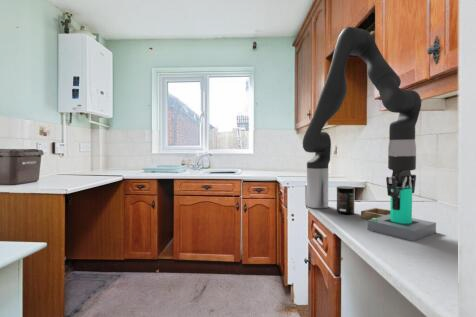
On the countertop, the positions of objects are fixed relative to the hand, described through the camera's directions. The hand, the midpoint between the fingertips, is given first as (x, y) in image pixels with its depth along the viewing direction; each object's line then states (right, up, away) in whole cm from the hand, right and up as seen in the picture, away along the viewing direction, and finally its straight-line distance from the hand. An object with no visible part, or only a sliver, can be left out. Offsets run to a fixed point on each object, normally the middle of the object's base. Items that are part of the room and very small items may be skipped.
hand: (401, 208), depth 91 cm
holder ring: (+2, -7, +16) cm, 17 cm away
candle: (0, -4, 0) cm, 4 cm away
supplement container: (-8, -6, +25) cm, 27 cm away
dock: (0, -7, 0) cm, 7 cm away
